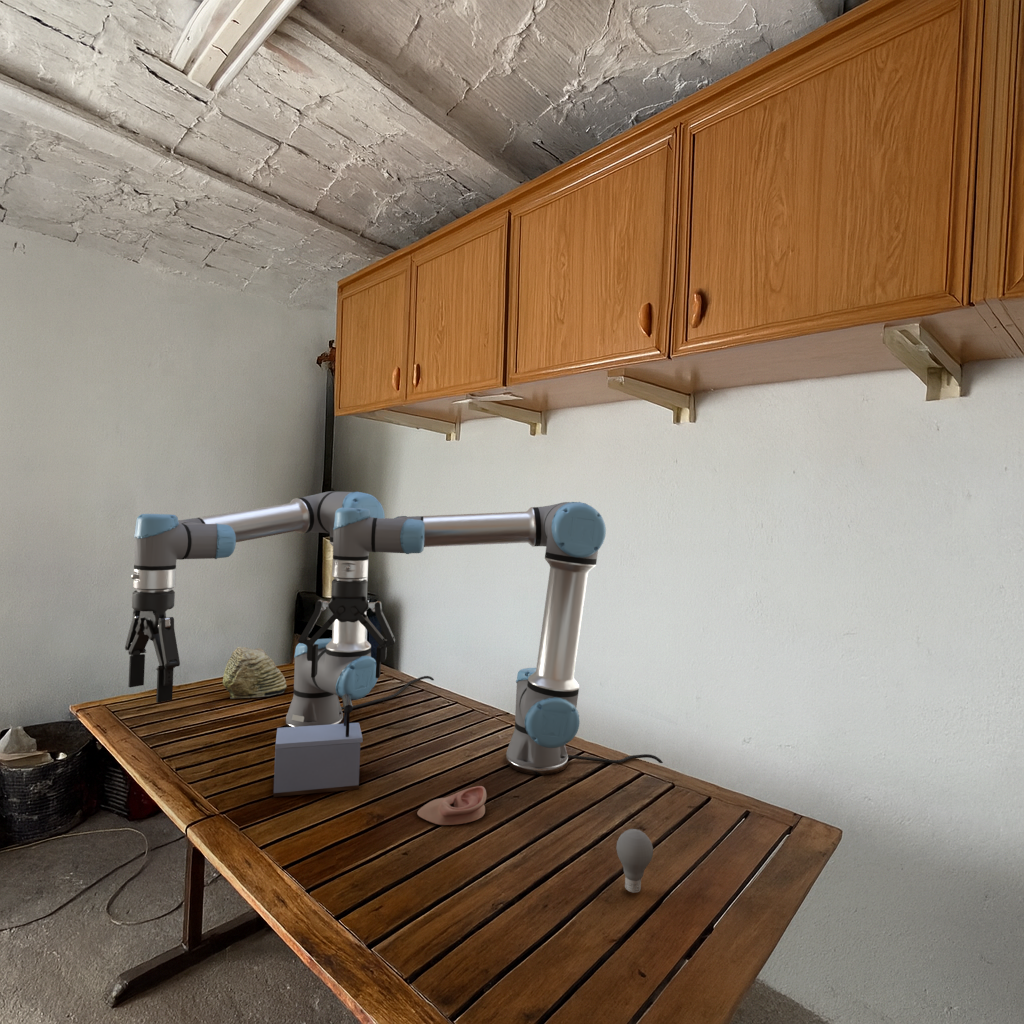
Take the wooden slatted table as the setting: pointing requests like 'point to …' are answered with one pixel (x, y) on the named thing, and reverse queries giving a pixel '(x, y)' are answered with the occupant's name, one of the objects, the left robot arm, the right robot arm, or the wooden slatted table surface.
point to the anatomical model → (456, 807)
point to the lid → (321, 732)
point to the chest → (316, 769)
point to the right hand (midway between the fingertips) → (346, 676)
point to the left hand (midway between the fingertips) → (149, 693)
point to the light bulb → (634, 857)
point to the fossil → (252, 674)
